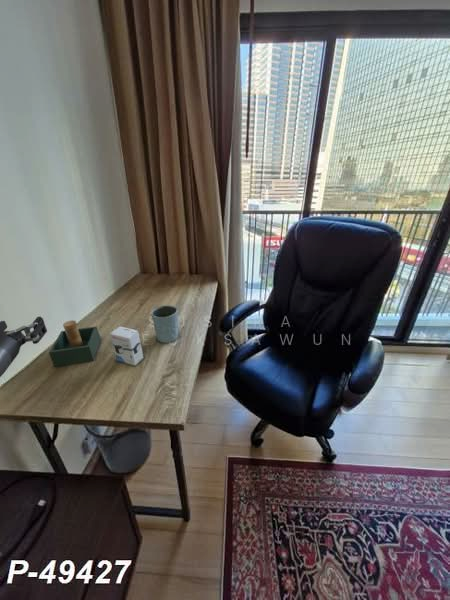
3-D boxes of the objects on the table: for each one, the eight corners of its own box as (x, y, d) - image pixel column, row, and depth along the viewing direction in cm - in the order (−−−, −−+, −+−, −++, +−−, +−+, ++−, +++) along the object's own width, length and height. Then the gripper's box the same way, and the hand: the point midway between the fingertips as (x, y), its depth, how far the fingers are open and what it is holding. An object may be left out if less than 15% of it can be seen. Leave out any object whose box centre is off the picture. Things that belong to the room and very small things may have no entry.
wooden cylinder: (71, 354, 92) (61, 327, 87) (74, 348, 95) (64, 321, 90) (83, 352, 93) (74, 325, 88) (85, 346, 96) (77, 319, 91)
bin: (54, 367, 87) (48, 352, 84) (66, 344, 99) (61, 331, 96) (93, 360, 90) (89, 346, 87) (100, 339, 102) (96, 326, 99)
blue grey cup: (157, 346, 97) (152, 319, 92) (153, 332, 106) (149, 307, 100) (182, 340, 101) (179, 314, 95) (177, 327, 109) (174, 303, 104)
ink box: (115, 360, 90) (108, 333, 85) (125, 352, 94) (119, 325, 89) (135, 366, 87) (128, 338, 82) (144, 357, 91) (138, 330, 86)
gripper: (21, 339, 54) (48, 305, 68) (-61, 351, 50) (-15, 313, 64) (33, 367, 57) (56, 329, 71) (-43, 379, 54) (-3, 337, 68)
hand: (22, 321), depth 68 cm, fingers open, 8 cm apart
